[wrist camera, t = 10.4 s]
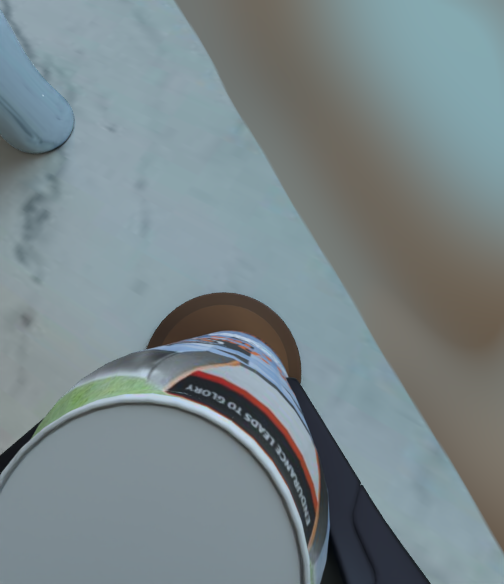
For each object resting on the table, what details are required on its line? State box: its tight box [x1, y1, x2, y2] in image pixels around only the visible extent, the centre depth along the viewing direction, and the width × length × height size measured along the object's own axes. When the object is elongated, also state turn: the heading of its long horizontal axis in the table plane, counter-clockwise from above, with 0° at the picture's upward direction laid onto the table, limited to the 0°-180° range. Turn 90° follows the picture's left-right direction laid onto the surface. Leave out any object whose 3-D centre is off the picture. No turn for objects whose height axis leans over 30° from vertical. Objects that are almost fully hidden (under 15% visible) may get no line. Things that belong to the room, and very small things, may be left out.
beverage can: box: [0, 330, 330, 584], centre depth 10 cm, size 6×7×12 cm
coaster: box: [146, 292, 301, 383], centre depth 21 cm, size 12×12×1 cm
